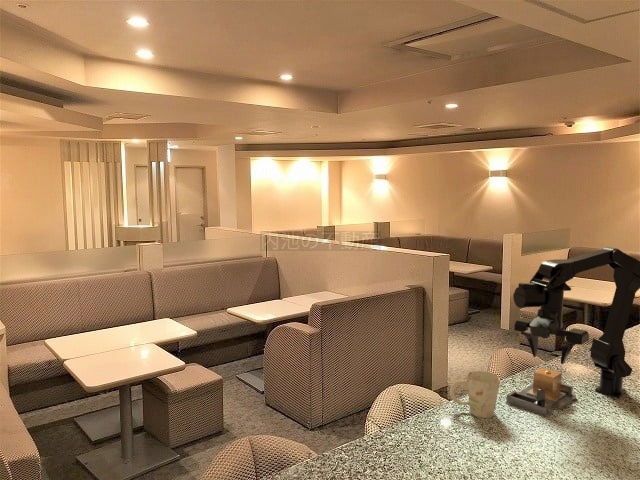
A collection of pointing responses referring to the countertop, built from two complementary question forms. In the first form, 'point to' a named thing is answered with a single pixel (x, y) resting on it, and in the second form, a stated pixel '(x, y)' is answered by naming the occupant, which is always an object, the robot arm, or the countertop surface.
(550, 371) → the block
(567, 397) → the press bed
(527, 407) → the lever track
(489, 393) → the mug
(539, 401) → the lever
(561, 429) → the countertop surface
